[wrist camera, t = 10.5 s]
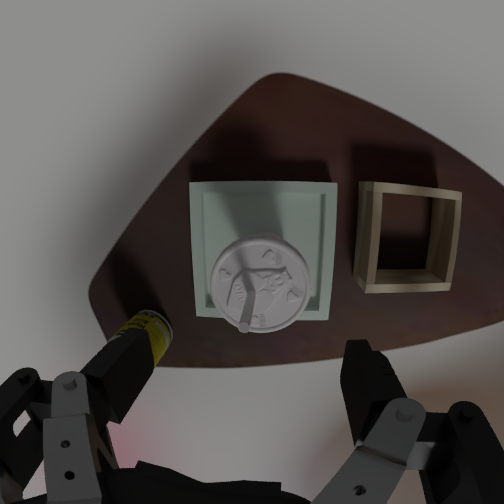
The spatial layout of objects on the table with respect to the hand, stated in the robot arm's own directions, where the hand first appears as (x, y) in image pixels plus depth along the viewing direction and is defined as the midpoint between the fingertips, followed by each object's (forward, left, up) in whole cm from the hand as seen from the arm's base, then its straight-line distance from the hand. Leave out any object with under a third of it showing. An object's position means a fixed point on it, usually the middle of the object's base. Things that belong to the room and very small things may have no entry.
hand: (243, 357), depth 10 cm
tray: (0, 0, -18) cm, 18 cm away
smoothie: (0, 0, -17) cm, 17 cm away
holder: (-14, -2, -18) cm, 23 cm away
